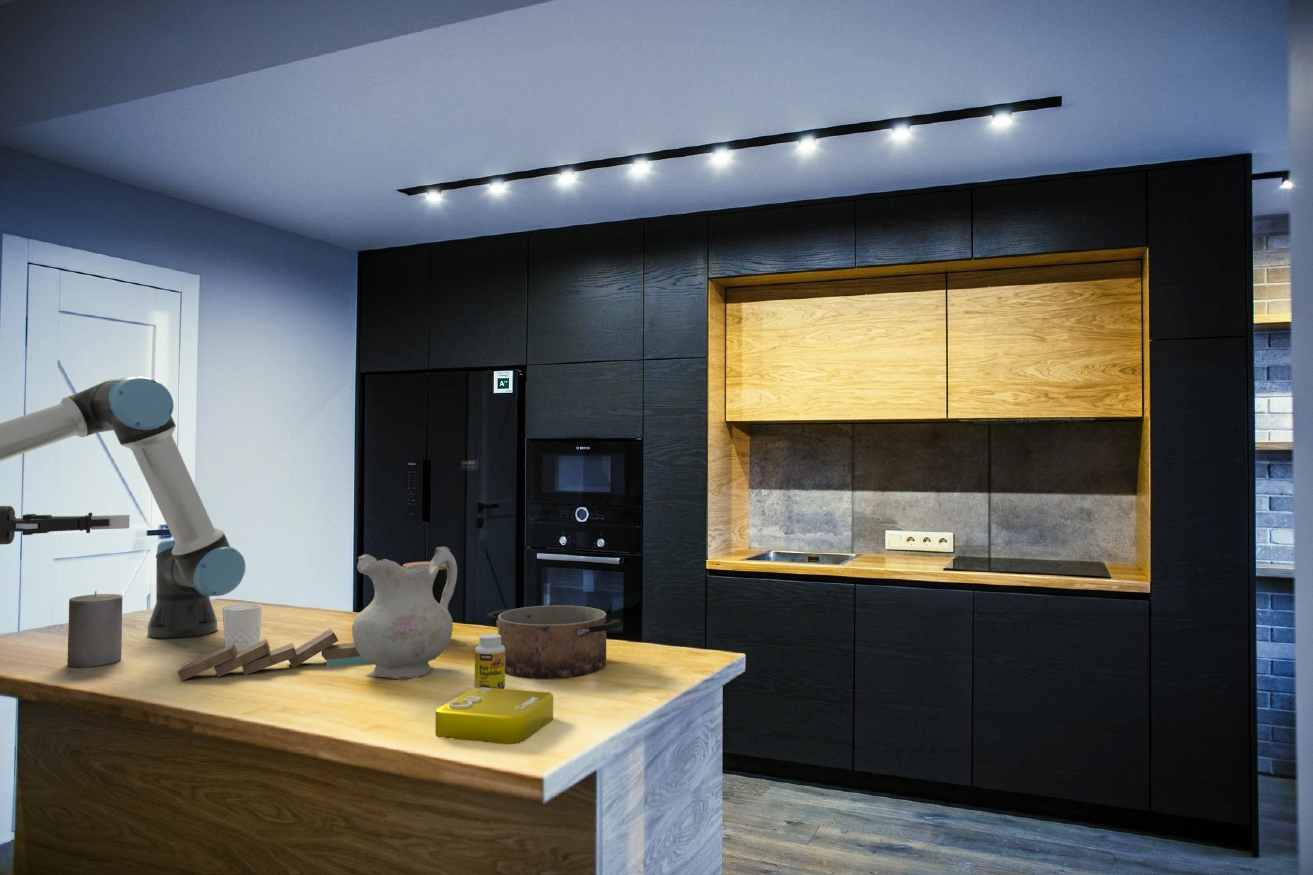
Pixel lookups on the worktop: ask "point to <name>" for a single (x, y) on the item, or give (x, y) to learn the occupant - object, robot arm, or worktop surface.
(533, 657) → the cooking pot
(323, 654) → the domino
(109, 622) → the pillar candle
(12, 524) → the robot arm
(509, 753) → the worktop surface
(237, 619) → the white cup
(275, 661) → the domino
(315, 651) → the domino
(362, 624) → the ceramic pitcher
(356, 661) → the domino
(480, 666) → the supplement bottle
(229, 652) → the domino
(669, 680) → the worktop surface
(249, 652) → the domino
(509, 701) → the element tile
